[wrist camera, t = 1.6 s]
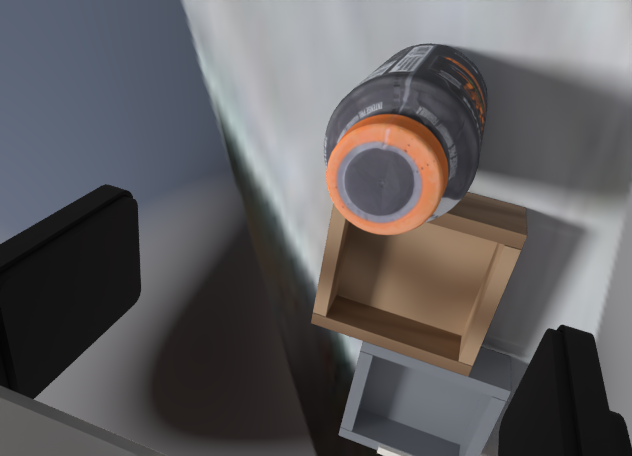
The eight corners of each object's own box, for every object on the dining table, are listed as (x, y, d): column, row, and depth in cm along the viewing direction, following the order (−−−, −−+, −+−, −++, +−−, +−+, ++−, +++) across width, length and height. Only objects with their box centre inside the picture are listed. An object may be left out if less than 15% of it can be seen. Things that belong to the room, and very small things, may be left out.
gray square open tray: (374, 312, 34) (361, 344, 31) (511, 356, 32) (511, 395, 29) (349, 403, 38) (337, 438, 35) (468, 447, 36) (465, 487, 34)
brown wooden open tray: (353, 161, 29) (337, 182, 27) (525, 207, 27) (527, 235, 25) (326, 293, 34) (311, 323, 31) (471, 341, 32) (467, 376, 30)
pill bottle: (500, 141, 26) (494, 248, 17) (390, 169, 29) (331, 275, 19) (471, 23, 24) (446, 69, 15) (355, 64, 27) (270, 125, 17)
